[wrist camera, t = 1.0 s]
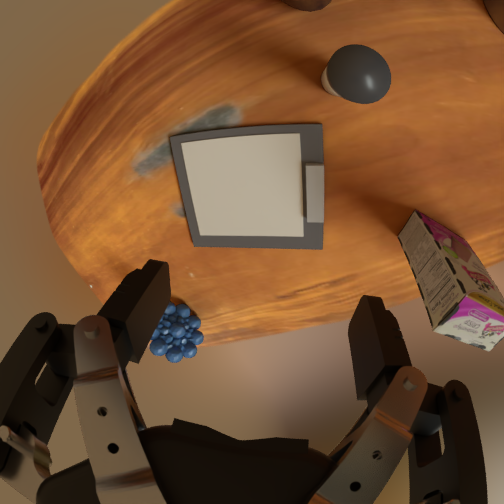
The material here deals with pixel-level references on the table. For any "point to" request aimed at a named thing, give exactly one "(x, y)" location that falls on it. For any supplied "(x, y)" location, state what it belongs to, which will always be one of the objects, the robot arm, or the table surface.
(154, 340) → the grapes
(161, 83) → the table surface
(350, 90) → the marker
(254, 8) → the table surface
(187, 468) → the robot arm
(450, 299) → the candy bar box
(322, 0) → the wooden figurine
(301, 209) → the clipboard
